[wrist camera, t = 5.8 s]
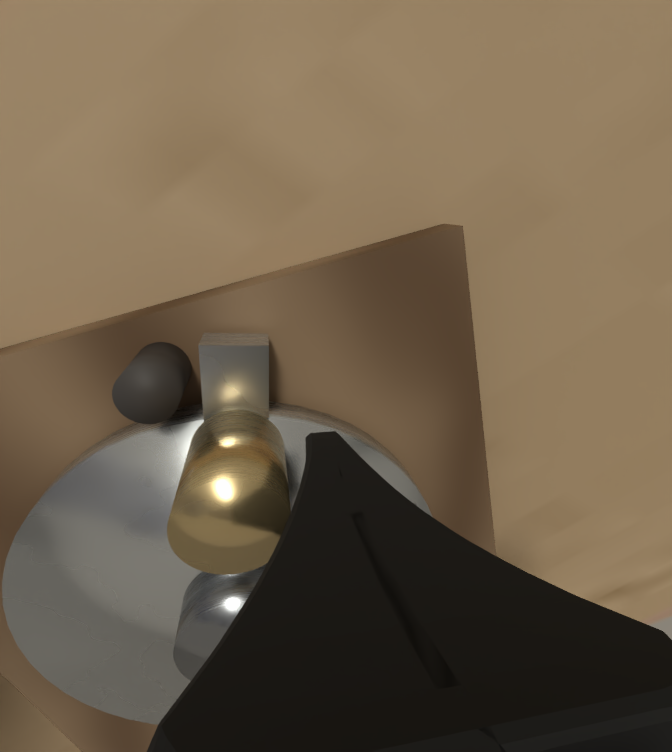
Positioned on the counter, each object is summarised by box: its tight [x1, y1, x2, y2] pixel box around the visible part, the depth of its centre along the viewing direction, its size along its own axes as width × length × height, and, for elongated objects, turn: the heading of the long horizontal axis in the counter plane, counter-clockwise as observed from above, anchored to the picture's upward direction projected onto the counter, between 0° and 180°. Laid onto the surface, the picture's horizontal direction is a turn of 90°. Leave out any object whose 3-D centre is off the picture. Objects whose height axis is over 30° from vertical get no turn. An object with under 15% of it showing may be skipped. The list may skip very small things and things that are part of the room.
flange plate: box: [2, 333, 432, 725], centre depth 11 cm, size 15×13×4 cm
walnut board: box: [0, 224, 496, 752], centre depth 13 cm, size 18×18×3 cm
